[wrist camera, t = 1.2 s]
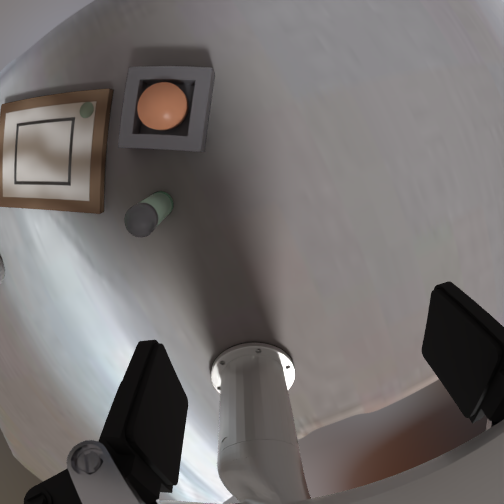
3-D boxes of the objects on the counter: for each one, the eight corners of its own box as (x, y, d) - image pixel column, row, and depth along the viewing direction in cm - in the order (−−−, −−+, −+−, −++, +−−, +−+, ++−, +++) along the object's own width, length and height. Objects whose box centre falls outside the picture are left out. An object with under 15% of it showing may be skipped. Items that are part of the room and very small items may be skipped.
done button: (185, 131, 28) (181, 130, 26) (140, 129, 28) (134, 128, 26) (191, 86, 27) (188, 82, 25) (146, 85, 26) (140, 82, 24)
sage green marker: (172, 217, 34) (154, 238, 26) (148, 215, 33) (124, 235, 26) (174, 192, 33) (155, 206, 25) (149, 190, 32) (124, 203, 25)
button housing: (204, 151, 31) (200, 151, 28) (129, 147, 30) (117, 147, 27) (215, 75, 28) (212, 67, 25) (138, 73, 27) (129, 67, 24)
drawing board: (103, 211, 33) (99, 214, 32) (2, 204, 31) (-3, 206, 30) (113, 90, 28) (108, 88, 27) (6, 104, 26) (0, 104, 25)
